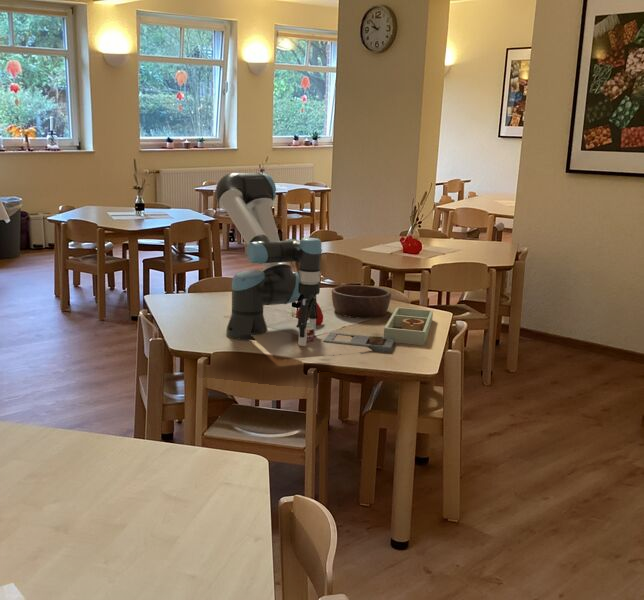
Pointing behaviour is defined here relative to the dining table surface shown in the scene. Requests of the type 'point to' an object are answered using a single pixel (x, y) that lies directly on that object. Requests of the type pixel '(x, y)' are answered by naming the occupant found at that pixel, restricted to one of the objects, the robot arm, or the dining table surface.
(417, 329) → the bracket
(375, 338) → the walnut block
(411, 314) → the parts crate
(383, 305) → the wooden bowl
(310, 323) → the pill bottle
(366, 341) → the grey slotted plate
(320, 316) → the red rounded tapered piece
